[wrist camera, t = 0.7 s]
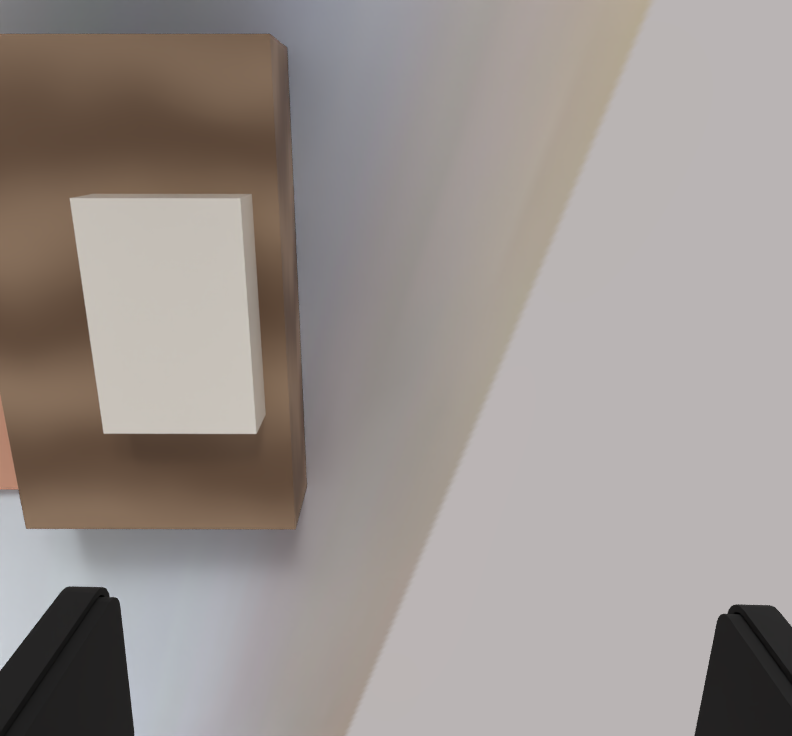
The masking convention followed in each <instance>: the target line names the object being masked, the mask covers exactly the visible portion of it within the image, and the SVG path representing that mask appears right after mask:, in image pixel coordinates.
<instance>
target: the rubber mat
mask: <svg viewBox="0 0 792 736" xmlns="http://www.w3.org/2000/svg"><path fill="white" fill-rule="evenodd" d="M0 489H18V484H17V479H16V474H15V469H14V463H13V458H12V453H11V448H10V442H9V437H8V432H7V427H6V422H5V416H4V411H3V406H2V401H1V396H0Z"/></svg>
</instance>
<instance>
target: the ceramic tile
mask: <svg viewBox="0 0 792 736" xmlns="http://www.w3.org/2000/svg"><path fill="white" fill-rule="evenodd" d="M70 204H71V211H72V218H73V225H74V232H75V239H76V246H77V253H78V260H79V267H80V273H81V280H82V287H83V294H84V301H85V308H86V315H87V322H88V329H89V336H90V343H91V350H92V357H93V363H94V370H95V377H96V384H97V391H98V398H99V405H100V412H101V419H102V426H103V433H104V434H257V432H258V430H259V428H260V425H261V423H262V421H263V419H264V417H265V415H266V411H265V395H264V379H263V363H262V348H261V332H260V316H259V300H258V284H257V269H256V253H255V237H254V221H253V206H252V194H89V195H84V196H79V197H73V198H70Z"/></svg>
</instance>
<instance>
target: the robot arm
mask: <svg viewBox="0 0 792 736" xmlns="http://www.w3.org/2000/svg"><path fill="white" fill-rule="evenodd" d="M0 736H134V726H133V717H132V708H131V699H130V690H129V681H128V672H127V663H126V654H125V645H124V636H123V627H122V618H121V609H120V603H119V600H118V599H117V598H115V597H109V593H108V591H107V589H105V588H103V587H66V588H65V589H64V590H63V591H61V593H60V594H59V595H58V597H57V598H56V599H55V600H54V602H53V603H52V604H51V606H50V607H49V608H48V610H47V611H46V612H45V614H44V615H43V616H42V617H41V619H40V620H39V621H38V623H37V624H36V625H35V627H34V628H33V629H32V630H31V632H30V633H29V634H28V636H27V637H26V638H25V640H24V641H23V642H22V643H21V645H20V646H19V647H18V649H17V650H16V651H15V653H14V654H13V655H12V656H11V658H10V659H9V660H8V662H7V663H6V664H5V666H4V667H3V668H2V669H1V671H0ZM695 736H792V627H791V626H790V624H789V623H788V622H787V620H786V619H785V618H784V617H783V616H782V614H781V613H780V612H779V611H778V610H777V609H776V608H775V607H773V606H770V605H769V606H768V605H733V606H731V608H730V609H729V611H728V614H722V615H720V616H719V618H718V620H717V624H716V629H715V635H714V640H713V645H712V650H711V655H710V660H709V665H708V670H707V675H706V680H705V685H704V691H703V696H702V701H701V706H700V711H699V716H698V721H697V726H696V731H695Z"/></svg>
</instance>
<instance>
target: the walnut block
mask: <svg viewBox="0 0 792 736" xmlns="http://www.w3.org/2000/svg"><path fill="white" fill-rule="evenodd" d="M89 194H252V206H253V221H254V237H255V253H256V269H257V284H258V300H259V316H260V332H261V348H262V363H263V379H264V395H265V411H266V415H265V417H264V419H263V421H262V423H261V425H260V428H259V430H258V432H257V434H104V433H103V426H102V419H101V412H100V405H99V398H98V391H97V384H96V377H95V370H94V363H93V357H92V350H91V343H90V336H89V329H88V322H87V315H86V308H85V301H84V294H83V287H82V280H81V273H80V267H79V260H78V253H77V246H76V239H75V232H74V225H73V218H72V211H71V204H70V198H73V197H79V196H84V195H89ZM0 396H1V401H2V406H3V411H4V416H5V422H6V427H7V432H8V437H9V442H10V448H11V453H12V458H13V463H14V469H15V474H16V479H17V484H18V489H19V495H20V500H21V505H22V510H23V515H24V521H25V526H26V529H296V526H297V522H298V518H299V514H300V510H301V507H302V503H303V499H304V495H305V492H306V488H307V478H306V456H305V433H304V411H303V389H302V366H301V344H300V322H299V299H298V277H297V255H296V232H295V210H294V188H293V165H292V143H291V120H290V98H289V76H288V53H287V47H286V46H285V45H283V44H282V43H281V42H280V41H278V40H277V39H276V38H274V37H273V36H272V35H271V34H0Z"/></svg>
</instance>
